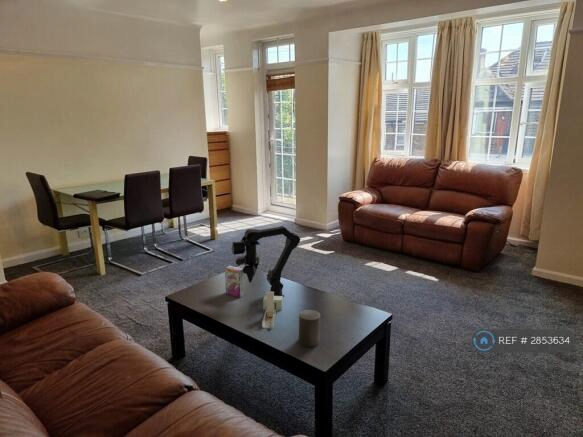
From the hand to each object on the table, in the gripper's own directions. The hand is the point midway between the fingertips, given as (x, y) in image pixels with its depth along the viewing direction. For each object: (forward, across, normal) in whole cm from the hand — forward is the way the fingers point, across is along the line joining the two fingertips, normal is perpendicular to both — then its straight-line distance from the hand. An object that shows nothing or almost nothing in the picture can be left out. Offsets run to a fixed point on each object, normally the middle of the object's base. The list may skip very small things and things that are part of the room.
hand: (251, 278), depth 227 cm
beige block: (+12, +14, +13) cm, 23 cm away
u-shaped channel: (+13, +23, +13) cm, 29 cm away
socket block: (+13, +8, +13) cm, 20 cm away
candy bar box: (+13, -7, -11) cm, 19 cm away
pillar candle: (+13, +40, +34) cm, 54 cm away
